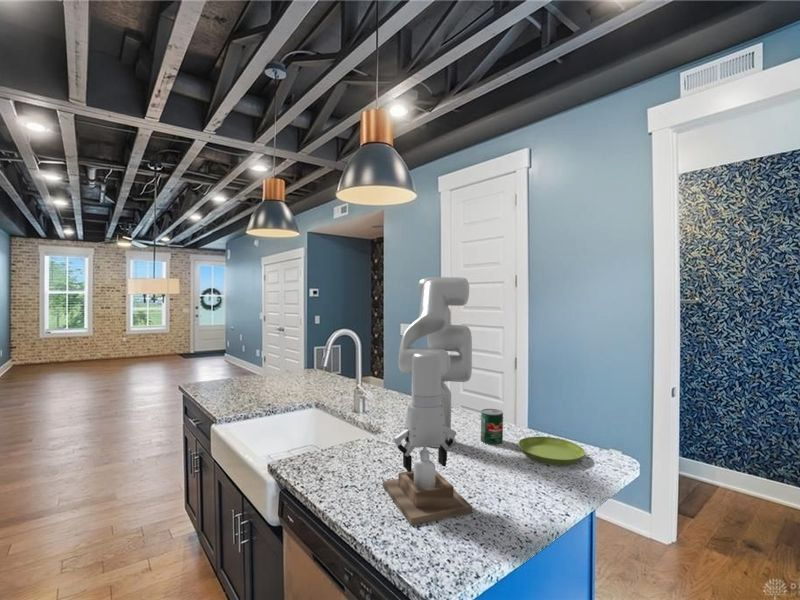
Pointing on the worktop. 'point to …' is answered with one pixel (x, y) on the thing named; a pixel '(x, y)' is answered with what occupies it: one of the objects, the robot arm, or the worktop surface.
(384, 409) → the worktop surface
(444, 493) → the bottle stand
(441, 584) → the worktop surface
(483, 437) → the canned tomato
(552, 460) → the saucer
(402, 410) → the worktop surface
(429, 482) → the eye dropper bottle
